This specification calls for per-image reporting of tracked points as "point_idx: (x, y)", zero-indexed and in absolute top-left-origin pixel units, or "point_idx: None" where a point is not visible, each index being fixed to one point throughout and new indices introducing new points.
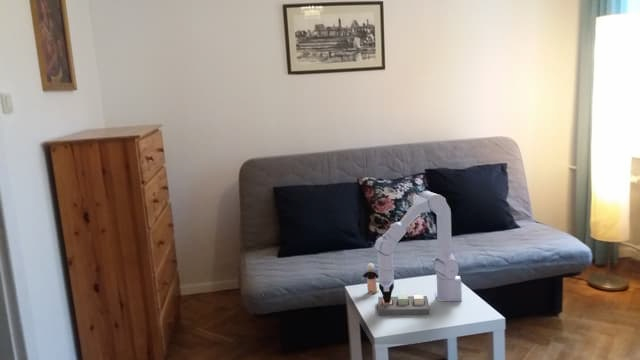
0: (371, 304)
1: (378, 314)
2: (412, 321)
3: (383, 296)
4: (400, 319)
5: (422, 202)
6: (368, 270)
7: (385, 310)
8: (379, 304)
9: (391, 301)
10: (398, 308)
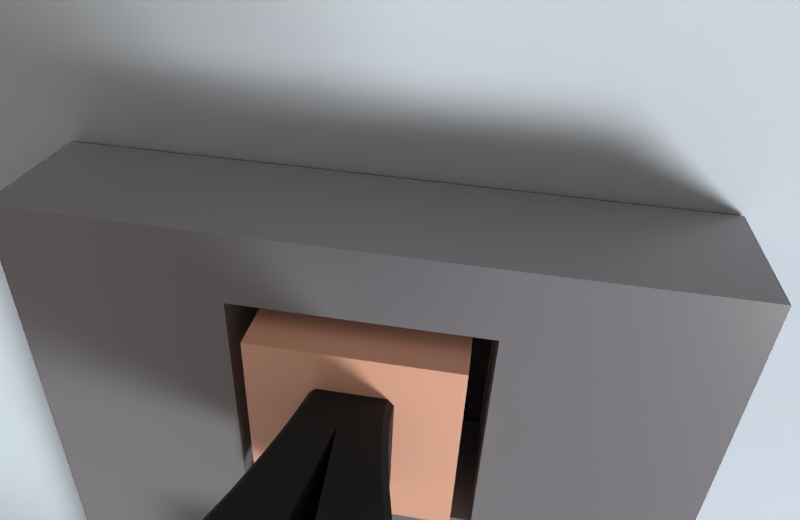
0: (706, 33)
1: (55, 154)
2: (9, 513)
3: (216, 513)
4: (27, 419)
5: None
6: None
7: (40, 325)
8: (275, 266)
9: None
10: (116, 517)
